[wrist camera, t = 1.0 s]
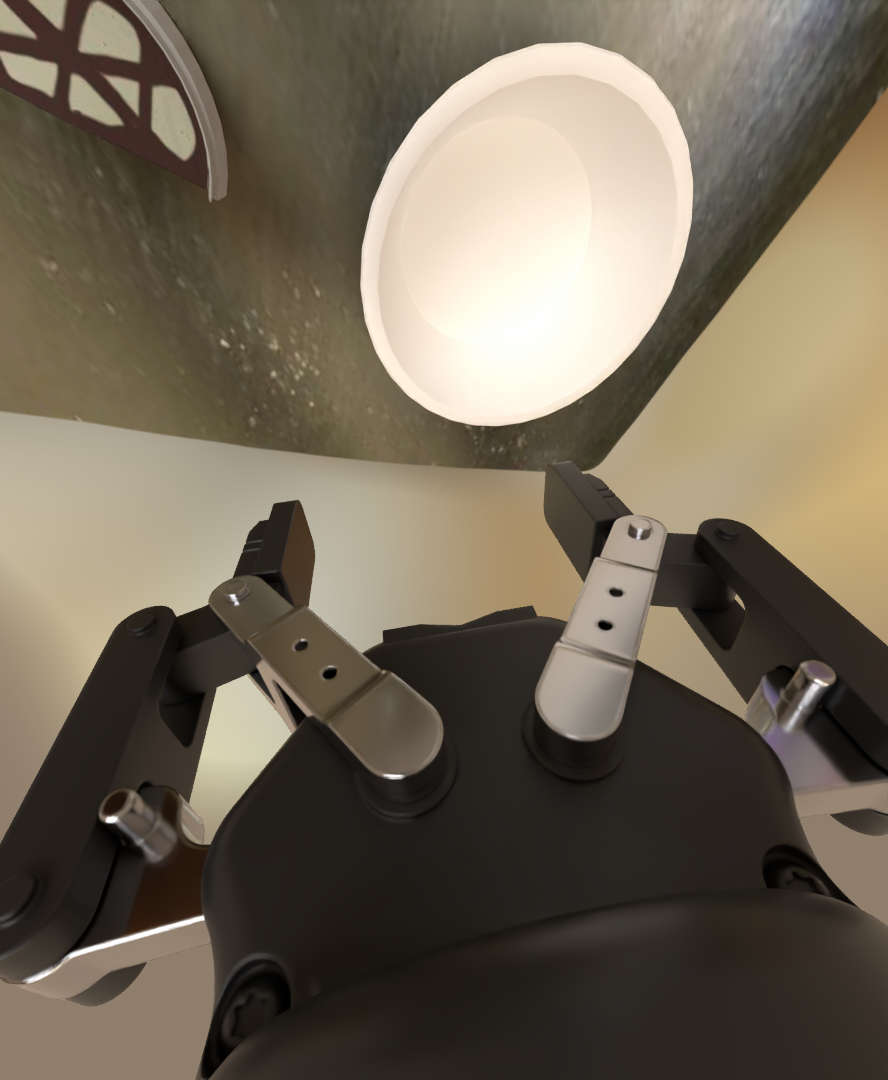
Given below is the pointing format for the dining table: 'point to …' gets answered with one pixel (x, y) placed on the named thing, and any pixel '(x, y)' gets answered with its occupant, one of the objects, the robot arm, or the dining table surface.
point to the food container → (117, 80)
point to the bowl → (526, 234)
